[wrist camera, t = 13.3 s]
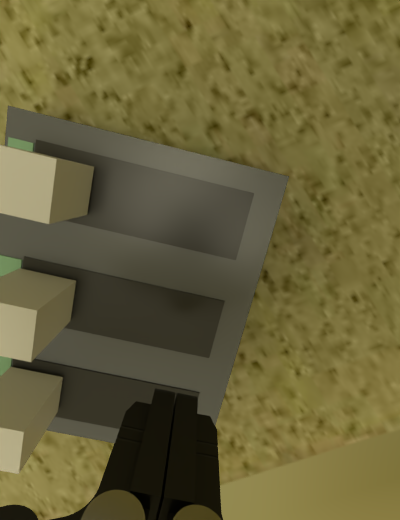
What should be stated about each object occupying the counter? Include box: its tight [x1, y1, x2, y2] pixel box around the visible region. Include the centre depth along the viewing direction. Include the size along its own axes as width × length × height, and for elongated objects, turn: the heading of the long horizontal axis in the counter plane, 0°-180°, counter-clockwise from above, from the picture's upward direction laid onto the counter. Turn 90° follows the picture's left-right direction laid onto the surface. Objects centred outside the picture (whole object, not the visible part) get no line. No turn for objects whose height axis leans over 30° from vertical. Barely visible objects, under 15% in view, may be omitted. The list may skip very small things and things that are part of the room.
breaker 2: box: [0, 367, 63, 474], centre depth 16 cm, size 3×2×4 cm
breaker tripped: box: [0, 268, 76, 362], centre depth 14 cm, size 3×2×4 cm
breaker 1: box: [0, 145, 94, 224], centre depth 13 cm, size 3×2×4 cm
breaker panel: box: [0, 106, 289, 443], centre depth 18 cm, size 14×18×3 cm
